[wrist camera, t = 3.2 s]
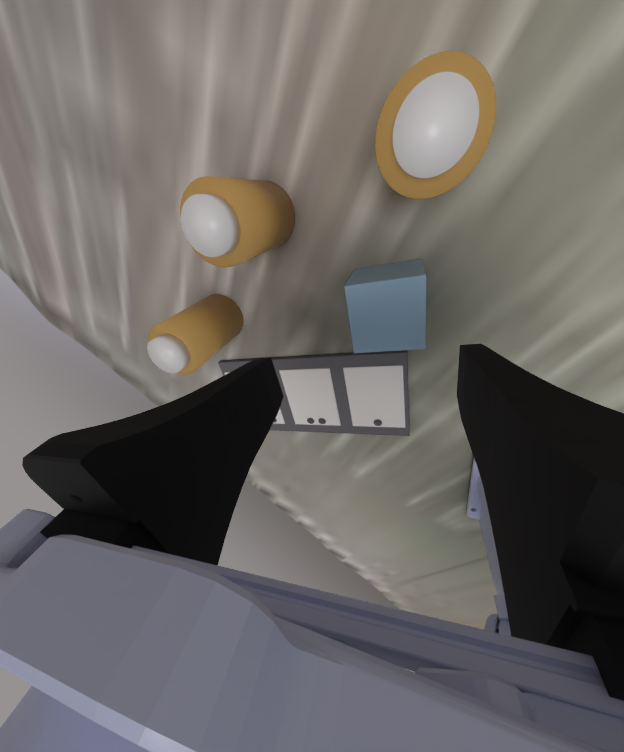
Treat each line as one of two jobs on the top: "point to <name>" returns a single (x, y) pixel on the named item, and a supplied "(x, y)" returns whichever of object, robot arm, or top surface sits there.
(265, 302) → the top surface
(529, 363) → the top surface
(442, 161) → the bottle
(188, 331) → the bottle
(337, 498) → the top surface
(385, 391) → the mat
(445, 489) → the top surface
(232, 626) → the robot arm
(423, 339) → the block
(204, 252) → the bottle
